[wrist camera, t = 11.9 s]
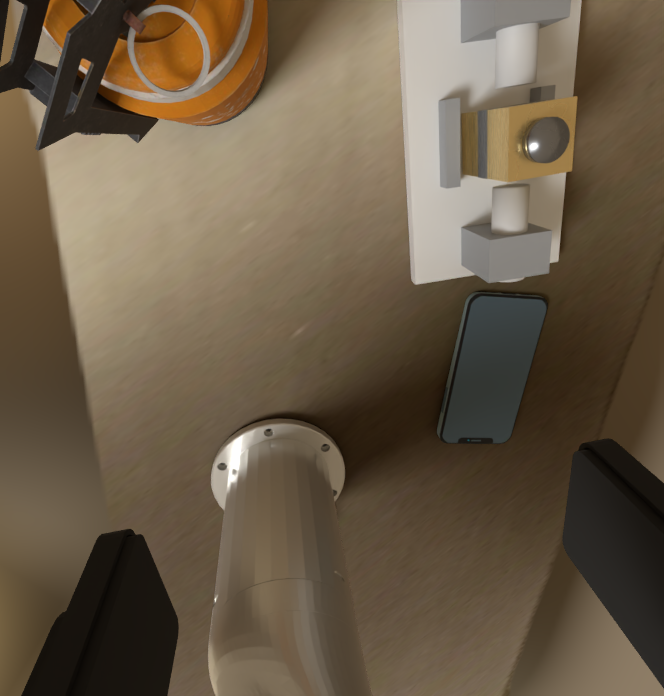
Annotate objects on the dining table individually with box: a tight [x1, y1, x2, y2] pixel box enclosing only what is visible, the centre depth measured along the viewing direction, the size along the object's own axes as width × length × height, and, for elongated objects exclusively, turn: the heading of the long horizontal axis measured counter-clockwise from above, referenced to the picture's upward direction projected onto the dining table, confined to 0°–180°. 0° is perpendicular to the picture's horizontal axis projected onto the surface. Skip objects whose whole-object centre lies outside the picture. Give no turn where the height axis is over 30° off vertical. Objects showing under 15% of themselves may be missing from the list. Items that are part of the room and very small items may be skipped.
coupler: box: [461, 96, 577, 182], centre depth 29 cm, size 4×4×8 cm
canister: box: [0, 0, 268, 150], centre depth 21 cm, size 9×11×20 cm
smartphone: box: [437, 291, 548, 444], centre depth 42 cm, size 8×2×15 cm
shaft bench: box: [397, 0, 582, 285], centre depth 31 cm, size 20×12×6 cm, turn 7°
